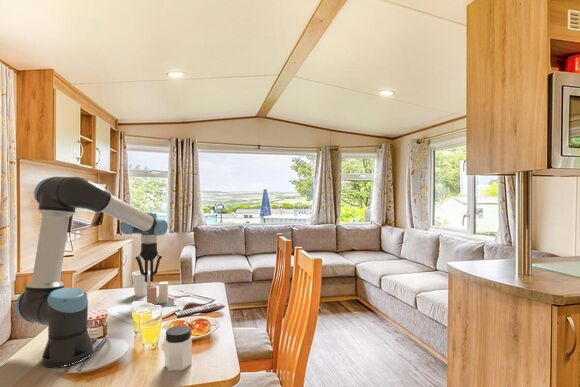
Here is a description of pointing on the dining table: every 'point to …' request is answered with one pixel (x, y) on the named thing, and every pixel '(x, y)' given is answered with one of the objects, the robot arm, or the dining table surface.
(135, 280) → the foam cup
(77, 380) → the dining table surface
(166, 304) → the mat
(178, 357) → the jar
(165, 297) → the cream pillar
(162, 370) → the dining table surface
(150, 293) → the brick pillar
